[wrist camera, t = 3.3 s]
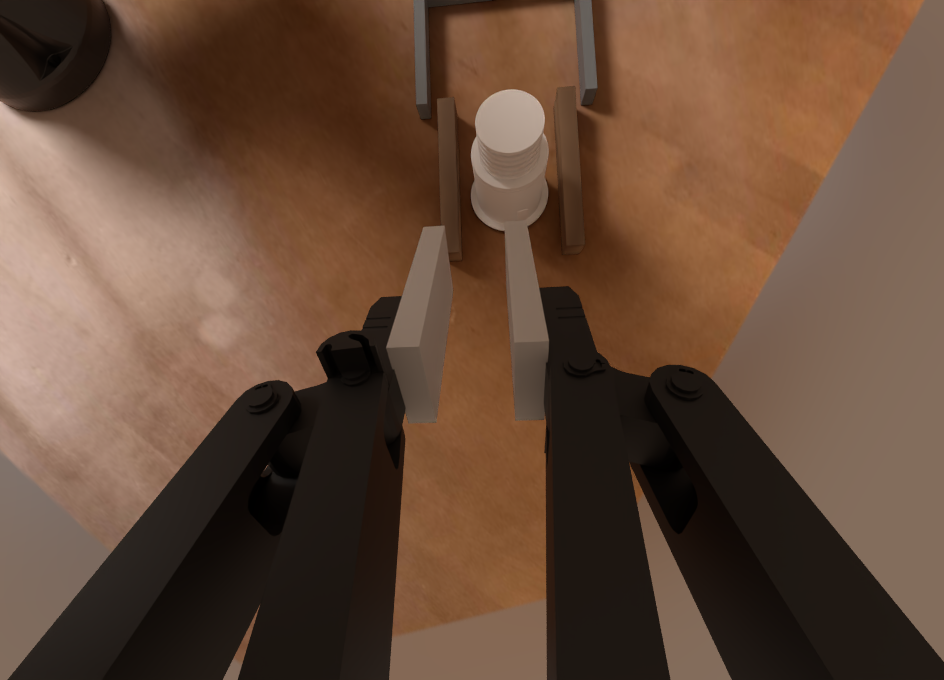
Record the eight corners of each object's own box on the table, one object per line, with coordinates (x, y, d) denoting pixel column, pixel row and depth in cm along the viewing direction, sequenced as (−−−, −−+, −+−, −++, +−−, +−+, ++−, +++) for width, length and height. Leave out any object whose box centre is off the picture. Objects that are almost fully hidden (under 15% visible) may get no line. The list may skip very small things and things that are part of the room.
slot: (445, 261, 35) (441, 253, 33) (441, 117, 36) (437, 98, 34) (579, 253, 34) (585, 244, 32) (570, 106, 35) (575, 85, 33)
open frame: (420, 119, 36) (416, 104, 34) (417, -1, 38) (413, -22, 36) (592, 104, 35) (597, 88, 33) (583, -20, 36) (588, -43, 34)
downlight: (558, 225, 34) (579, 158, 25) (483, 246, 35) (474, 189, 25) (533, 147, 36) (543, 54, 26) (461, 169, 36) (444, 85, 26)
